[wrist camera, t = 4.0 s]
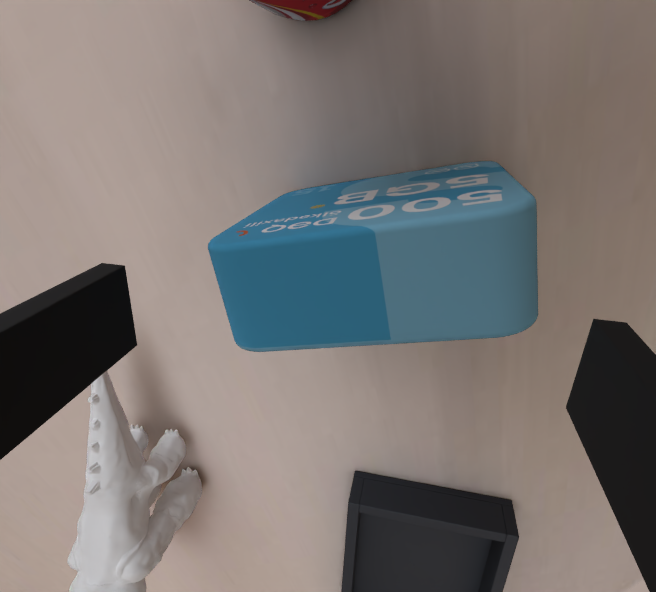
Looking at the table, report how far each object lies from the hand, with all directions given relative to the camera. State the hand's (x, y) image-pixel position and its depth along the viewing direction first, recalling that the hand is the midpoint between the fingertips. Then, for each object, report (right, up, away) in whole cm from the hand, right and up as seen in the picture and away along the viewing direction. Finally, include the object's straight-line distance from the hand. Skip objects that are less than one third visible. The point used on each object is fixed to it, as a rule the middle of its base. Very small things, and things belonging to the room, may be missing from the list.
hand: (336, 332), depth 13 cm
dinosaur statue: (-14, -11, +25) cm, 31 cm away
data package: (+3, +6, +14) cm, 15 cm away
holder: (+7, -21, +24) cm, 33 cm away
